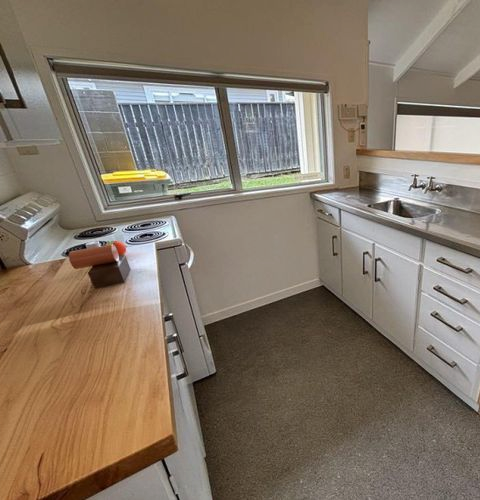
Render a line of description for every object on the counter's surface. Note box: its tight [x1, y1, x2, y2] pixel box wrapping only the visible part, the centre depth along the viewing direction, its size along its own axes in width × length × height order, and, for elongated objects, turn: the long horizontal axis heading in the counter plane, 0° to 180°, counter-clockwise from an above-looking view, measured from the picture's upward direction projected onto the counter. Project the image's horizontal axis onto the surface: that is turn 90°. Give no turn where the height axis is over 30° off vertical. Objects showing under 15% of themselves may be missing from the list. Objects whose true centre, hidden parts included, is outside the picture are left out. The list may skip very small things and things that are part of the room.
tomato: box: [104, 240, 127, 256], centre depth 115 cm, size 8×7×7 cm
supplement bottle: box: [85, 240, 101, 249], centre depth 111 cm, size 5×5×8 cm
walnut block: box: [87, 254, 131, 290], centre depth 97 cm, size 8×12×6 cm, turn 28°
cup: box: [68, 244, 119, 270], centre depth 94 cm, size 11×6×6 cm, turn 118°
